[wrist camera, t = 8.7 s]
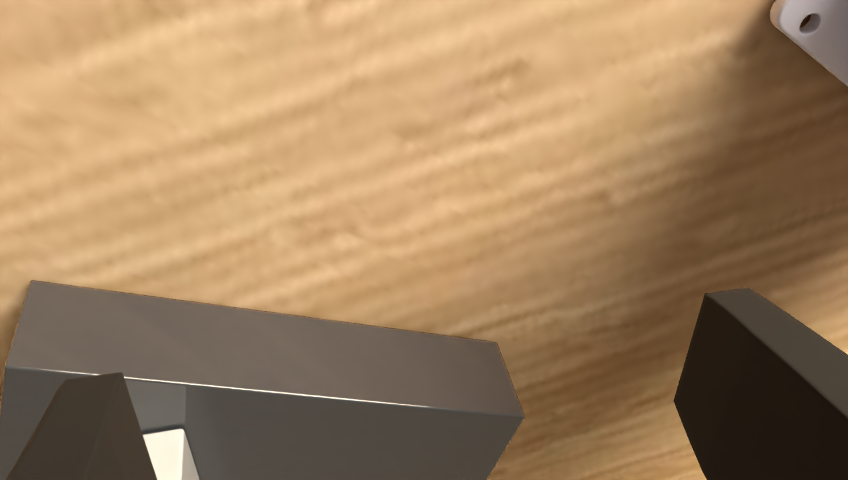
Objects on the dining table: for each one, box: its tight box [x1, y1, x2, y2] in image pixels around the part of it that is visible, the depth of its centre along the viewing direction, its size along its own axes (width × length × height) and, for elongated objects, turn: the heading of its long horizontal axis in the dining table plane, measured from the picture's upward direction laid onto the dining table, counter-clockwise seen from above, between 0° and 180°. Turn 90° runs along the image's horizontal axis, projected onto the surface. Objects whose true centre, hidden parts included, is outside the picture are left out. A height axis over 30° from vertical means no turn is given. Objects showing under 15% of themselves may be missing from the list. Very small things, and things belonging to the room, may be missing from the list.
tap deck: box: [0, 280, 525, 480], centre depth 23 cm, size 13×10×3 cm
